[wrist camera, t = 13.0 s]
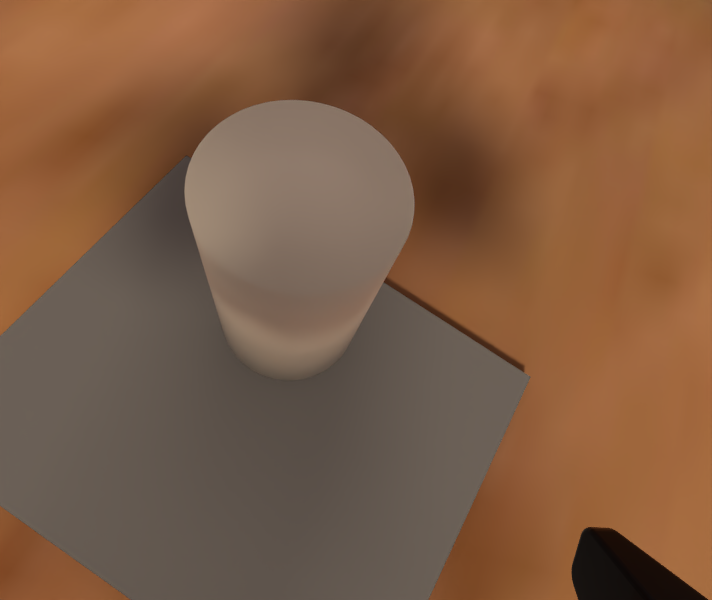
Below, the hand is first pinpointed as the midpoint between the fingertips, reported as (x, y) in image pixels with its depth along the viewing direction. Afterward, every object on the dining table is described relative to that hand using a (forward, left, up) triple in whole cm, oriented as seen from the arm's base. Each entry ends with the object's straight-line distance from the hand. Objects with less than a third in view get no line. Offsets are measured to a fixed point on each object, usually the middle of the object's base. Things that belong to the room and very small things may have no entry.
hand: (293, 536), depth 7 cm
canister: (+7, +4, -13) cm, 15 cm away
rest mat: (+3, +3, -13) cm, 14 cm away
